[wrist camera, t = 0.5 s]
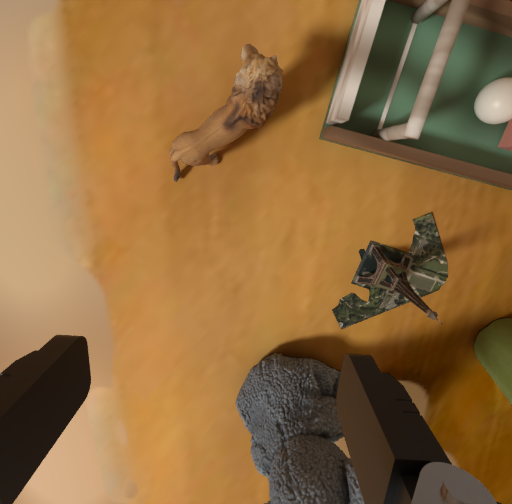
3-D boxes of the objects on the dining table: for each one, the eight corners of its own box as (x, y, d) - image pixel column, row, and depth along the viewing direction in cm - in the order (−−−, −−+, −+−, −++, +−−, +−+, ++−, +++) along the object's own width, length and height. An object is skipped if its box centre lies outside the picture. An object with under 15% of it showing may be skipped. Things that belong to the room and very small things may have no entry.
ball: (475, 77, 31) (505, 66, 27) (512, 88, 32) (548, 79, 28) (458, 120, 32) (485, 115, 29) (494, 130, 33) (526, 127, 29)
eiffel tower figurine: (338, 328, 41) (375, 406, 28) (308, 262, 39) (333, 314, 26) (452, 282, 39) (546, 343, 27) (428, 208, 37) (519, 236, 24)
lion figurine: (254, 58, 32) (254, 21, 23) (290, 99, 33) (302, 79, 24) (159, 163, 35) (127, 166, 26) (194, 198, 36) (175, 212, 27)
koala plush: (279, 465, 47) (293, 667, 29) (207, 382, 43) (168, 554, 25) (383, 413, 45) (474, 599, 26) (316, 317, 40) (368, 457, 22)
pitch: (363, -14, 30) (411, -90, 21) (600, 58, 32) (744, 17, 22) (319, 138, 34) (342, 132, 25) (532, 195, 36) (630, 209, 26)
